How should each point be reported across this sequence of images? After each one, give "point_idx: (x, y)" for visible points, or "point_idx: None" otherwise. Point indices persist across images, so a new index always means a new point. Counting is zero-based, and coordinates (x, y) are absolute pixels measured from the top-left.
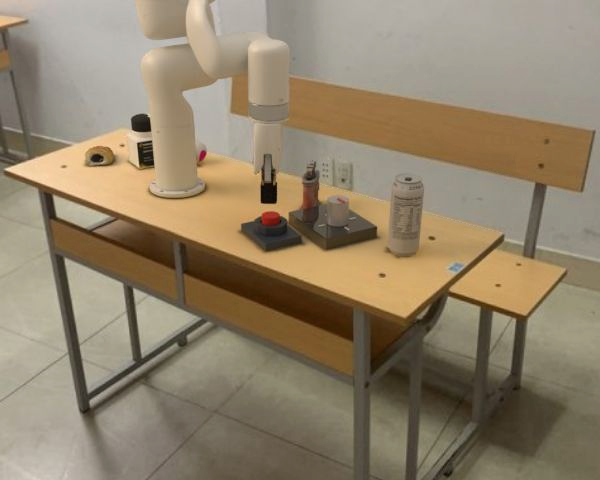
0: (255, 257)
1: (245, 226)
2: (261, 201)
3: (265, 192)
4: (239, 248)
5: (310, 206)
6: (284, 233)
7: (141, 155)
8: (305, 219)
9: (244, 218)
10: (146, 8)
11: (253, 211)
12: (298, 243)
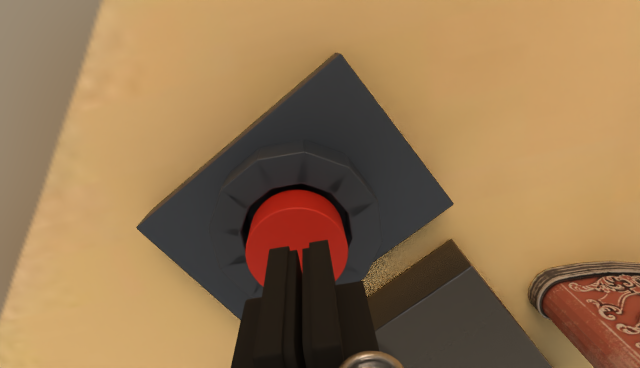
0: (84, 182)
1: (309, 87)
2: (271, 257)
3: (240, 349)
4: (147, 91)
5: (556, 324)
6: None
7: None
8: (393, 343)
9: (496, 29)
10: None
11: (584, 56)
12: None
